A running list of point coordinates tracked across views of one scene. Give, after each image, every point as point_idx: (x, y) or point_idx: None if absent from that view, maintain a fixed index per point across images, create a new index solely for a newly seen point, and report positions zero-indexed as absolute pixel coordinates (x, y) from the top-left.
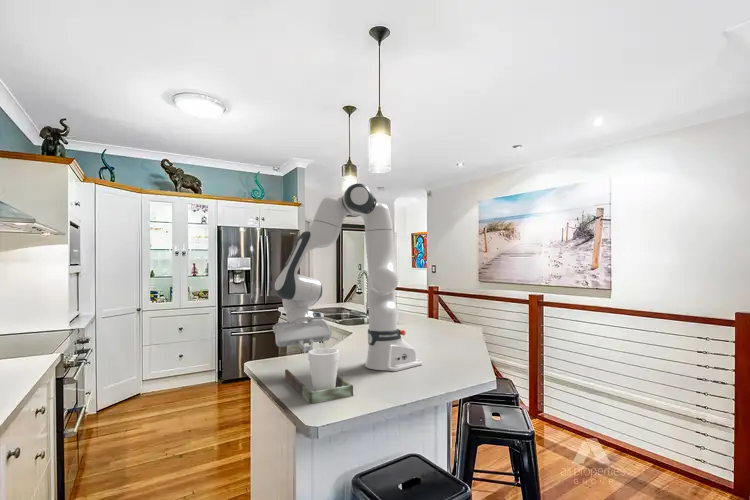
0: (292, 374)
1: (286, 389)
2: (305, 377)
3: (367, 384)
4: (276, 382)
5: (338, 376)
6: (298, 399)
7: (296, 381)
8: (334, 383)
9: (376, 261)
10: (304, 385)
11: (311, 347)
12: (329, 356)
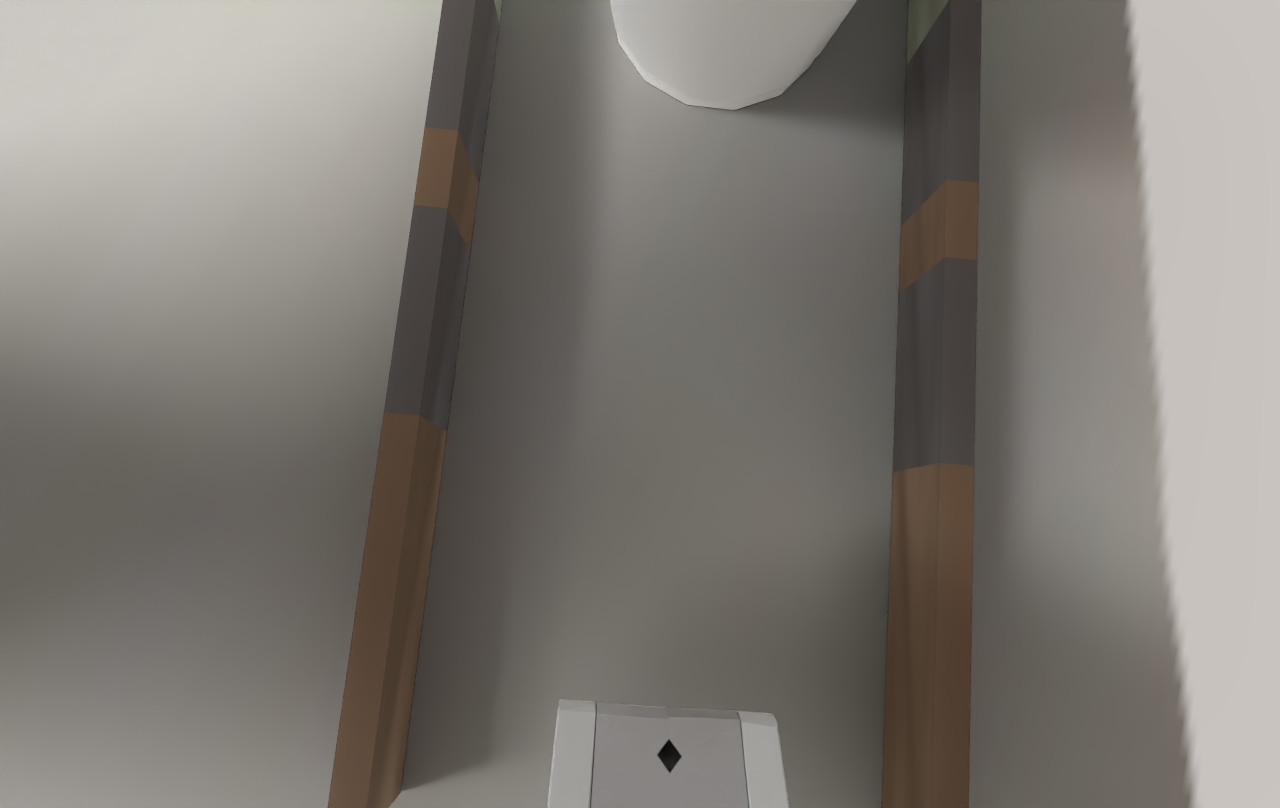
0: (942, 544)
1: (1016, 374)
2: None
3: (172, 7)
4: (1056, 716)
5: (444, 87)
6: (992, 20)
7: (971, 247)
8: None
9: None
10: (950, 15)
11: (579, 761)
12: None
